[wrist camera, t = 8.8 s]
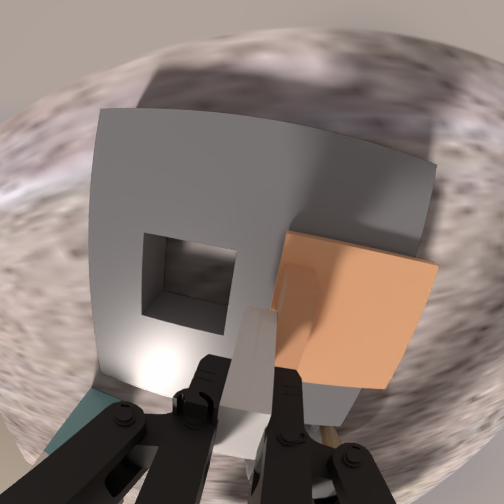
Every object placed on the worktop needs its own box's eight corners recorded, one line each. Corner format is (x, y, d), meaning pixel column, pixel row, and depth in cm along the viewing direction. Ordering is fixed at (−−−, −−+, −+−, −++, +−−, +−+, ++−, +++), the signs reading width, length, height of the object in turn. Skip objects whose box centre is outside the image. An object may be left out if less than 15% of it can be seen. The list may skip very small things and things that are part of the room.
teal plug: (120, 399, 26) (63, 492, 13) (124, 420, 27) (76, 506, 14) (91, 387, 26) (29, 470, 13) (97, 408, 28) (44, 487, 14)
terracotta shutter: (433, 261, 14) (466, 286, 11) (382, 381, 17) (396, 419, 13) (286, 229, 15) (288, 250, 11) (256, 366, 18) (249, 408, 14)
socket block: (409, 164, 17) (437, 164, 13) (334, 394, 23) (340, 426, 19) (130, 116, 18) (100, 108, 14) (121, 348, 24) (100, 373, 20)
